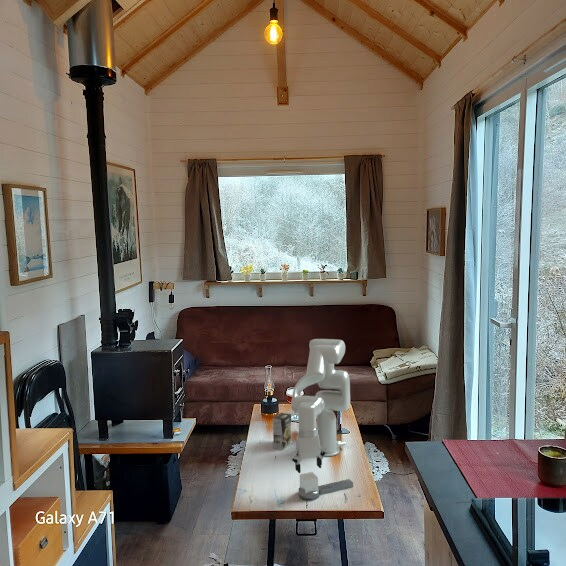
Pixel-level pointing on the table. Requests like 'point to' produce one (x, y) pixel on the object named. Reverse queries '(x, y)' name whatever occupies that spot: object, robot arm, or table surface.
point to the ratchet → (326, 489)
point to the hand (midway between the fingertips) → (308, 469)
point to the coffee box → (282, 431)
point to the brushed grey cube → (308, 482)
